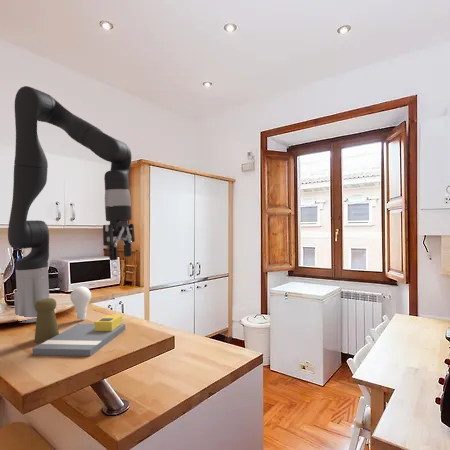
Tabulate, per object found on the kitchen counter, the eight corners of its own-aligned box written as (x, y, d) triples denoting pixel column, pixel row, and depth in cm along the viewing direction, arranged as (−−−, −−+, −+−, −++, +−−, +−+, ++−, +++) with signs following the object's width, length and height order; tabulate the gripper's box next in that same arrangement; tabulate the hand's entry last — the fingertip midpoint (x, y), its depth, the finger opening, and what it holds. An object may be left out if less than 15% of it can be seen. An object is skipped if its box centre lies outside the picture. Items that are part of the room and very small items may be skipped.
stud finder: (94, 330, 85) (94, 321, 85) (106, 323, 91) (105, 314, 91) (111, 331, 85) (111, 321, 85) (122, 323, 91) (121, 314, 91)
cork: (31, 339, 85) (29, 299, 85) (55, 333, 90) (53, 295, 89) (38, 344, 81) (36, 303, 81) (63, 338, 85) (61, 298, 85)
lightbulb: (96, 318, 102) (94, 285, 102) (78, 324, 97) (77, 289, 97) (84, 316, 105) (83, 284, 105) (67, 321, 100) (66, 287, 100)
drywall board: (32, 354, 75) (32, 348, 75) (78, 328, 93) (78, 323, 93) (90, 355, 73) (90, 349, 73) (125, 329, 91) (125, 324, 90)
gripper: (118, 206, 102) (121, 255, 102) (92, 205, 88) (96, 261, 88) (140, 205, 101) (142, 255, 101) (117, 203, 87) (120, 261, 87)
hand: (121, 258), depth 95 cm, fingers open, 8 cm apart
